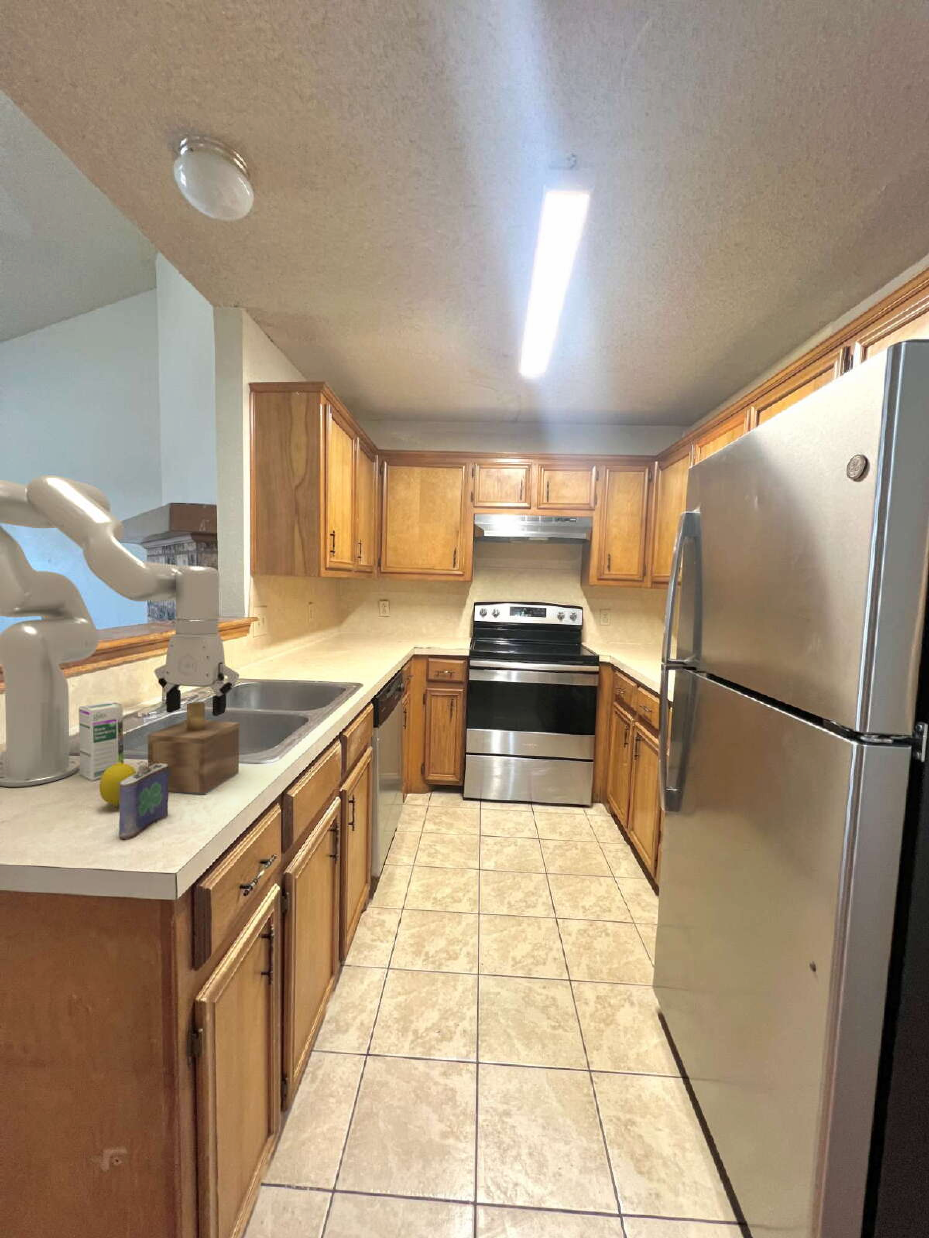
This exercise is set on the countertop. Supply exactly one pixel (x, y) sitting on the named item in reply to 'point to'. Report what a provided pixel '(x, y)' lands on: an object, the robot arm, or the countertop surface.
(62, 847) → the countertop surface
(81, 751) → the syrup box
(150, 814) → the flask
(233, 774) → the mat
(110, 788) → the lemon
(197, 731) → the brown block with knob
